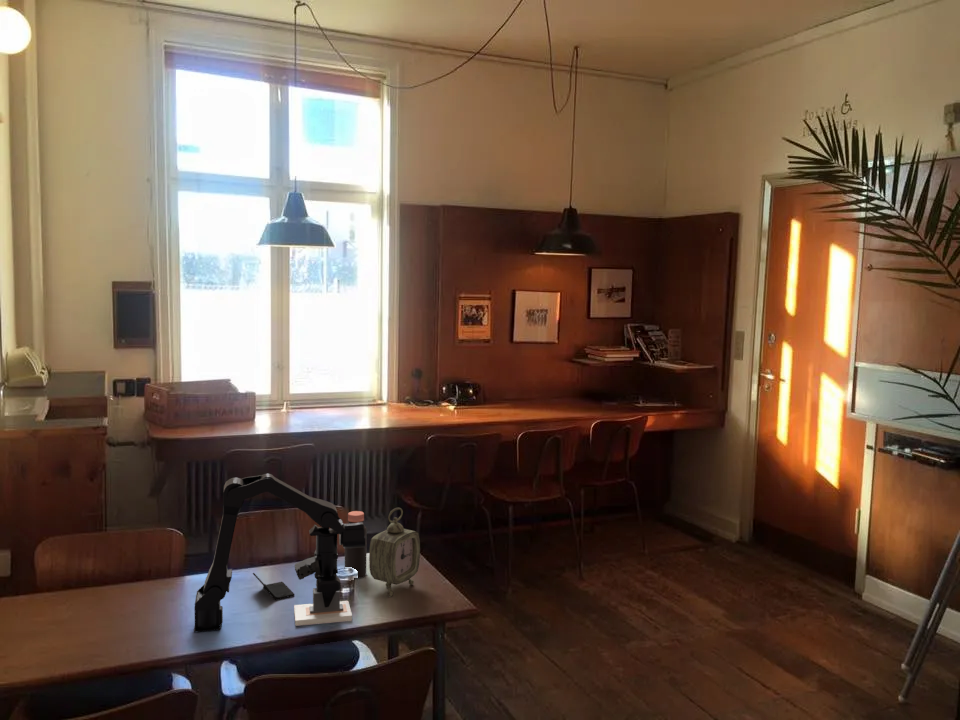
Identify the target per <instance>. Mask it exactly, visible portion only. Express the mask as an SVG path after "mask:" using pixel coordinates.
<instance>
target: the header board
mask: <svg viewBox="0 0 960 720" xmlns="http://www.w3.org/2000/svg"><path fill="white" fill-rule="evenodd" d="M293 612H294V613H293V614H294V626H295V627H296V626H297V627H298V626H309V625H321V624H330V623H342V622H352V621H353V613H352V610H351V607H350V602H349V600H340V609H336V610H325V611H314V610H313V603H304V604H293Z"/></svg>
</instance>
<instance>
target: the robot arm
mask: <svg viewBox="0 0 960 720" xmlns="http://www.w3.org/2000/svg"><path fill="white" fill-rule="evenodd" d="M263 493H269V494H271V495H273V496H274V497H277V499H280V500H281V501H283V502H285V503H287V504H290V505H291V506H293V507H295V508H297V509H298V510H300V511H302V512H304V513H305V514H306V515H307V516H308V517H309V518H310V519H311V520H312V521H314V522H315V523H316V524H313V526H312V527H310V529H309V530H308V532H309V536H310V537H315V551H314V552H313V553H314V555H313V556H312V557H308V558H305V559H304V560H300V561H299V562H297V563H295V564H294V571H295V572H296V576H297V578H298V580H304V579H305V578H306V577H309V576H312V575H314V578H315V580H316V583H315V588H316V589H317V592H322V595H323V600H324V606H325V607H329V606H330V603H331V601H332V599H333V597H334V595H335V593H336V591H340V592H341V590H342V588H341V587H342V586H341V585H342V583H341V579H340V578H339V577H338V575H337V574H338V572H339V569H338V559H339V554H338V542H339V546H342V548H343V549H344V550H345V549H346V548H360V547H365V535H364V526H365V524H364V522H358V523H351V524H349V523H344V522H343V520H342V519H341V518H340V517H339V514H338V513H339V512H338V510H337V508H336V506H335V504H334V503H332V502H330V501H327V500H324V499H320V498H315V497H312V496H310V495H307V494H306V493H304V492H302V491H300V490H299V489H297V488H295V487H294V486H291V485H290V484H287V483H286V482H285V481H282V480H280V478H279V479H278V478H277V477H275V476H274V475H273V474H272V473H263V474H259V475H253V476H247V477H246V476H245V477H243V478H240V477H232V478H229V479H228V480H227V481H225V484H224V485H223V492H222V518H221V521H220V527H219V532H218V536H217V537H218V538H217V541H216V547H215V552H214V557H213V561H212V564H211V566H210V568H209V569H208V572H207V575H206V577H205V580H204V584H202V586H201V587H200V588H199V589H197V590H196V594H195V601H194V626H193V632H194V633H199V632H211V631H219V630H220V629H221V626H222V624H223V620H224V617H223V616H224V615H223V611H224V610H223V609H224V608H223V606H222V605H221V601H222V600H223V599H224V598H225V597H226V594H227V593H230V586H231V585H230V584H231V581H232V579H233V577H232V576H233V569H232V568H231V569H230V568H229V569H228V563H229V557H230V552H231V548H232V544H233V538H234V534H235V530H236V529H235V527H236V523H237V518H238V517H239V514H240V511H241V509H242V507H243V505H244V502H245V500H247V499H251V498H254V497H256V496H258V495H261V494H263ZM338 540H339V541H338Z"/></svg>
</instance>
